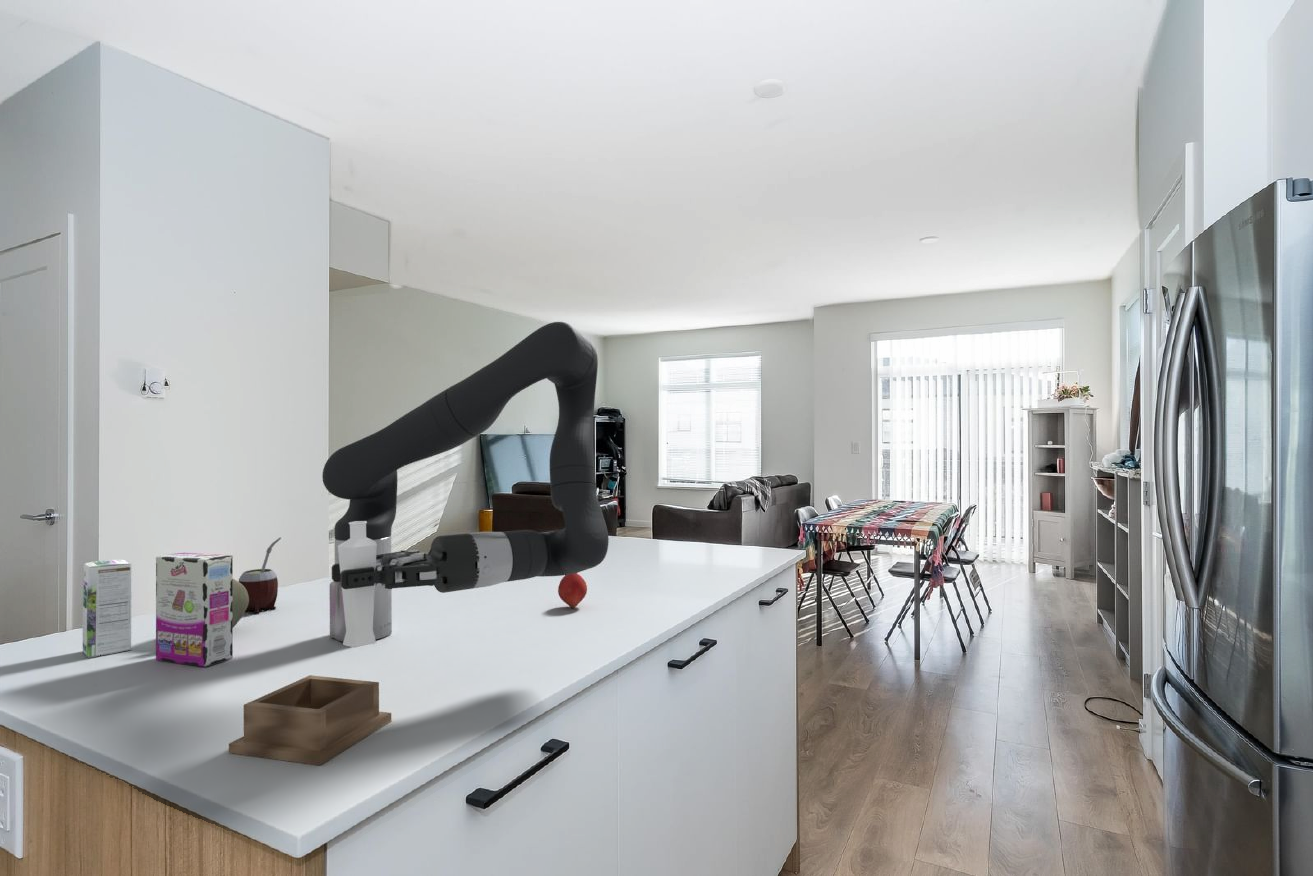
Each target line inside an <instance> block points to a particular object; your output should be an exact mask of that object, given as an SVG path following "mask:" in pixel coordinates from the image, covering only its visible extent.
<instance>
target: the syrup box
mask: <svg viewBox="0 0 1313 876" xmlns="http://www.w3.org/2000/svg"><path fill="white" fill-rule="evenodd" d="M132 569H133V563H132V562H129V561H127V560H125V559H107V560H106V559H105V560H97V561H96V560H95V561H90V562H89V561H88V562H86V563H84V564H83V587H82V588H83V593H82V594H83V595H82V597H83V599H82V652H83V653H84V654H85V655H86V657H88V658H94V657H100V655H101V656H107V655H111V654H116V653H120V652H126V651H130V650H132V608H133V607H132V601H133V600H132V599H133V598H132V597H133V595H132V594H133V592H132V591H133V589H132V588H133V585H132V584H133V579H132V578H133V574H132V572H133V570H132Z"/></svg>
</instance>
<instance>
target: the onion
mask: <svg viewBox="0 0 1313 876" xmlns="http://www.w3.org/2000/svg"><path fill="white" fill-rule="evenodd" d="M587 592H588V585H587V582H586V581H585V579H584V578H583V577H582V576H581V575H580V574H578V573H575V574H570V575H563V577H562V578H561V580H560V582H559V585H558V588H557V593H558V596H559V598H560V599H561V601H562V602H564V604H566V605H567V606H569V607H570V608H572V609H573V608H576V607H577V606H578V605H579V604H580V603H581V602H582V601H583V599H585V598H586V595H587Z"/></svg>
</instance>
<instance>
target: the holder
mask: <svg viewBox="0 0 1313 876" xmlns="http://www.w3.org/2000/svg"><path fill="white" fill-rule="evenodd" d="M391 722H392V712H387V711H380V681H370V680H363V679H362V680H361V679H350V678H340V677H330V676H321V675H314V674H313V675H307V676H306V677H305V676H304V677H303V678H300V679H299V680H296V681H293V682H292V683H290V684H288V685H284V686H283V687H280V688H278V689H276V690H274V691H272V692H270V693H267V694H264V695H262V696H261V697H258V698H256V699H254V700H251V701H249V702H247V703H243V736H241V737H239V738H236V739H235V740H233V741H231V742H229V743H228V753H230V754H234V755H235V754H236V755H243V756H251V757H257V758H265V759H270V760H271V759H272V760H279V761H287V762H293V763H299V764H307V765H315V766H322V765H324V764H325V763H327V762H328V761H330V760H332V759H333V758H335V757H336V756H338V755H340V754H341V753H343V752H344V751H346V750H348V749H349V748H351V747H352V746H354V745H355V744H357V743H359V742H360V741H362V740H363V739H365V738H367V737H368V736H370V735H372V734H373V733H375V732H376V731H378V730H380V729H381V728H383V727H384V726H386V725H387V724H389V723H391Z"/></svg>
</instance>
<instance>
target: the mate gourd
mask: <svg viewBox="0 0 1313 876" xmlns="http://www.w3.org/2000/svg"><path fill="white" fill-rule="evenodd" d="M281 539H282V537H278V538H277V539H275V541H273V542H272V543H271V544H270V545H269V547H267V549H266V552H265V553H266V554H265V556H264V557H265V558H264V560H263V563H262V567H261V568H258V569H250V570H245V571H243V572H242V573H241V574H240V576H239V578H238V582H240V583H241V584H242V585H243V586H244V587H245V589H246V590H247V593H248V596H249V603H248V607H247V609H246V611H245V612H244V614H245V613H254V615H259V614H260V613H261V612H264V611H275V610H276V608H277V607H276V605H275V604H276V601H277V598H278V593H279V592H278V591H279V590H278V589H279V587H278V586H279V581H278V576H277V573H276V572H275V571H274V570H273V569H272V568H271V569H270V568H266V566H267V563H268V560H269V557H270V554H271V553H272V550H273V547H274V546H275V545H276V544H277V543H278V542H279V541H280V540H281Z"/></svg>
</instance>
